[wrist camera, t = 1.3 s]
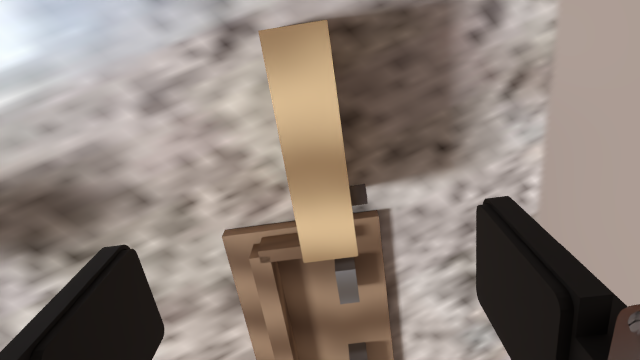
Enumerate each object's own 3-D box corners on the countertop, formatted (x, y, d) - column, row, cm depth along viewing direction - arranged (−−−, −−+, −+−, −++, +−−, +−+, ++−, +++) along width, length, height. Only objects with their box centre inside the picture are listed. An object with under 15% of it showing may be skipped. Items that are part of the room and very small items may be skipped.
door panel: (279, 27, 25) (258, 31, 17) (340, 17, 25) (350, 16, 17) (308, 194, 30) (303, 262, 21) (361, 187, 29) (376, 253, 21)
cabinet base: (224, 230, 31) (215, 251, 28) (376, 210, 30) (382, 229, 27) (269, 392, 37) (265, 422, 35) (394, 379, 37) (400, 409, 34)
